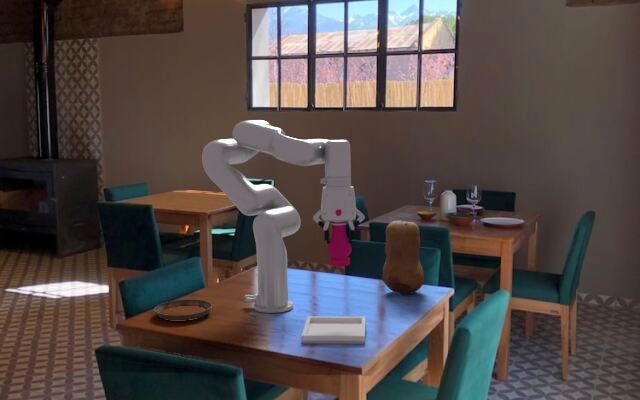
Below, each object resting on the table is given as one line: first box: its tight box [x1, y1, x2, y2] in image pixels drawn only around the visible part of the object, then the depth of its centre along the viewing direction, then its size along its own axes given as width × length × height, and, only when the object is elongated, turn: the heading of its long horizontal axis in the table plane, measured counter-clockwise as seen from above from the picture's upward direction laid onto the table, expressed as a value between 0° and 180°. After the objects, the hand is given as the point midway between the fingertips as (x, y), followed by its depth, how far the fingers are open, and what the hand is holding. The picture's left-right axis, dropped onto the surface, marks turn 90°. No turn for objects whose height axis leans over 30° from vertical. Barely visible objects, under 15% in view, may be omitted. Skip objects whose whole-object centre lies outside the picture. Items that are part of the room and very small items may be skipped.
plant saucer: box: [153, 298, 213, 320], centre depth 208 cm, size 18×18×3 cm
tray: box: [301, 315, 366, 345], centre depth 188 cm, size 17×17×2 cm
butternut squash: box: [381, 219, 425, 296], centre depth 226 cm, size 14×13×25 cm
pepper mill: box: [326, 209, 352, 268], centre depth 197 cm, size 7×7×20 cm
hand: (339, 242), depth 197 cm, fingers closed on pepper mill, 5 cm apart
